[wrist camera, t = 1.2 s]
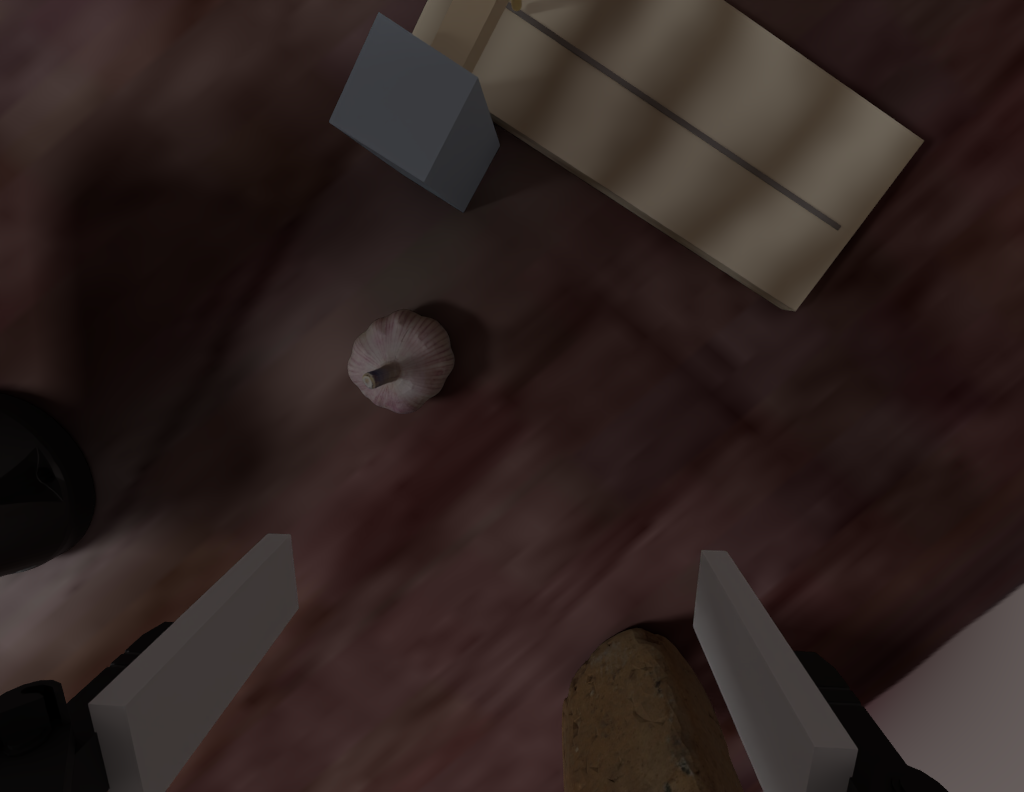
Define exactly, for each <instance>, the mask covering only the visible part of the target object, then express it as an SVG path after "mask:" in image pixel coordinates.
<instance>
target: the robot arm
mask: <svg viewBox="0 0 1024 792" xmlns="http://www.w3.org/2000/svg"><path fill="white" fill-rule="evenodd" d="M93 510H94V487H93V481H92V477H91V474H90V470H89V468H88V465H87V463H86V461H85V459H84V457H83V455H82V453H81V451H80V450H79V448H78V446H77V445H76V443H75V442H74V441H73V439H72V438H71V437H70V436H69V434H68V433H67V432H66V431H65V430H64V429H63V428H62V427H61V426H60V425H59V424H58V423H57V422H56V421H55V420H54V419H52V418H51V417H50V416H49V415H47V414H46V413H44V412H43V411H42V410H40V409H38V408H37V407H35V406H33V405H31V404H30V403H28V402H25V401H23V400H21V399H18V398H16V397H13V396H9V395H6V394H1V393H0V577H1V576H5V575H8V574H14V573H19V572H24V571H27V570H30V569H33V568H36V567H38V566H40V565H42V564H44V563H46V562H48V561H50V560H51V559H53V558H55V557H56V556H58V555H60V554H62V553H63V552H65V551H67V550H68V549H70V548H71V547H72V546H74V545H75V544H76V543H77V542H78V541H79V540H80V539H81V538H82V536H83V535H84V534H85V532H86V530H87V529H88V526H89V524H90V522H91V519H92V515H93ZM298 608H299V606H298V597H297V588H296V579H295V570H294V560H293V551H292V542H291V534H267V535H266V536H265V537H264V538H263V539H262V540H261V541H260V542H258V543H257V544H256V545H255V546H254V547H253V548H252V549H251V550H250V551H249V552H248V553H247V554H246V555H245V556H244V557H243V558H242V559H241V560H239V561H238V562H237V563H236V564H235V565H234V566H233V567H232V568H231V569H230V570H229V571H228V572H227V573H226V574H225V575H224V576H223V577H222V578H220V579H219V580H218V581H217V582H216V583H215V584H214V585H213V586H212V587H211V588H210V589H209V590H208V591H207V592H206V593H205V594H204V595H203V596H201V597H200V598H199V599H198V600H197V601H196V602H195V603H194V604H193V605H192V606H191V607H190V608H189V609H188V610H187V611H186V612H185V613H184V614H182V615H181V616H180V617H179V618H178V619H177V620H176V621H175V622H164V623H162V624H160V625H159V626H157V627H155V628H154V629H152V630H150V631H149V632H147V633H145V634H143V635H142V636H141V637H140V638H139V639H138V640H136V641H135V642H134V643H133V644H132V645H131V646H130V647H129V648H128V649H127V650H125V653H124V654H121V655H120V656H119V657H118V658H117V659H115V660H114V661H113V662H112V663H111V665H110V667H107V668H105V669H104V670H103V671H102V672H101V673H100V674H99V675H98V676H97V677H96V678H94V679H93V680H92V681H91V682H90V683H89V684H88V685H87V686H86V687H84V688H83V689H82V690H81V691H80V692H79V693H78V694H77V695H76V696H75V697H73V698H72V699H71V700H70V701H69V702H68V703H67V704H66V701H65V697H64V693H63V689H62V686H61V683H59V682H56V681H54V680H40V681H36V682H32V683H28V684H24V685H22V686H19V687H17V688H15V689H12V690H10V691H8V692H6V693H4V694H2V695H1V696H0V792H107V791H108V790H109V792H165V791H166V790H167V788H168V787H169V785H170V784H171V783H172V781H173V780H174V779H175V777H176V776H177V774H178V773H179V772H180V770H181V769H182V768H183V766H184V765H185V763H186V762H187V761H188V759H189V758H190V757H191V755H192V754H193V752H194V751H195V750H196V748H197V747H198V746H199V744H200V743H201V742H202V740H203V739H204V737H205V736H206V735H207V733H208V732H209V731H210V729H211V728H212V726H213V725H214V724H215V722H216V721H217V720H218V718H219V717H220V715H221V714H222V713H223V711H224V710H225V709H226V707H227V706H228V704H229V703H230V702H231V700H232V699H233V698H234V696H235V695H236V693H237V692H238V691H239V689H240V688H241V687H242V685H243V684H244V682H245V681H246V680H247V678H248V677H249V676H250V674H251V673H252V671H253V670H254V669H255V667H256V666H257V665H258V663H259V662H260V660H261V659H262V658H263V656H264V655H265V654H266V652H267V651H268V650H269V648H270V647H271V645H272V644H273V643H274V641H275V640H276V639H277V637H278V636H279V634H280V633H281V632H282V630H283V629H284V628H285V626H286V625H287V623H288V622H289V621H290V619H291V618H292V617H293V615H294V614H295V612H296V611H297V610H298ZM693 628H694V630H695V632H696V635H697V637H698V639H699V642H700V644H701V646H702V649H703V651H704V653H705V656H706V658H707V660H708V663H709V665H710V667H711V670H712V672H713V674H714V677H715V679H716V681H717V684H718V686H719V688H720V691H721V693H722V695H723V698H724V700H725V702H726V705H727V707H728V709H729V712H730V714H731V716H732V719H733V721H734V724H735V726H736V728H737V731H738V733H739V735H740V738H741V740H742V742H743V745H744V747H745V749H746V752H747V754H748V756H749V759H750V761H751V763H752V766H753V768H754V770H755V773H756V775H757V777H758V780H759V782H760V784H761V787H762V789H763V791H764V792H948V791H947V790H946V789H945V788H944V787H943V786H942V785H941V784H940V783H938V782H937V781H936V780H934V779H933V778H931V777H930V776H928V775H927V774H925V773H924V772H922V771H920V770H918V769H915V768H912V767H910V766H908V765H907V764H906V763H905V762H904V760H903V759H902V758H901V756H900V755H899V754H898V752H897V751H896V750H895V748H894V747H893V746H892V744H891V743H890V742H889V740H888V739H887V738H886V736H885V735H884V733H883V732H882V731H881V730H880V728H879V727H878V725H877V724H876V723H875V721H874V720H873V719H872V717H871V716H870V715H869V713H868V712H867V711H866V709H865V708H864V707H862V706H861V702H860V701H859V700H858V698H857V697H856V696H855V694H854V693H853V692H852V691H850V690H849V686H848V685H847V684H846V682H845V681H844V680H843V678H842V677H841V676H840V674H839V673H838V672H837V670H836V669H835V668H834V667H833V666H831V665H830V664H829V663H828V662H826V661H825V660H824V659H823V658H822V657H820V656H819V655H818V654H817V653H815V652H802V651H793V650H792V649H791V647H790V646H789V644H788V643H787V641H786V640H785V638H784V637H783V635H782V634H781V632H780V631H779V629H778V628H777V626H776V625H775V623H774V622H773V620H772V619H771V617H770V616H769V614H768V613H767V611H766V610H765V608H764V607H763V605H762V604H761V602H760V601H759V599H758V598H757V596H756V595H755V593H754V592H753V590H752V589H751V587H750V586H749V584H748V583H747V581H746V580H745V578H744V577H743V575H742V574H741V572H740V571H739V569H738V568H737V566H736V565H735V563H734V562H733V560H732V559H731V557H730V556H729V554H728V553H727V551H710V550H701V558H700V567H699V576H698V585H697V594H696V603H695V612H694V622H693Z"/></svg>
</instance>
